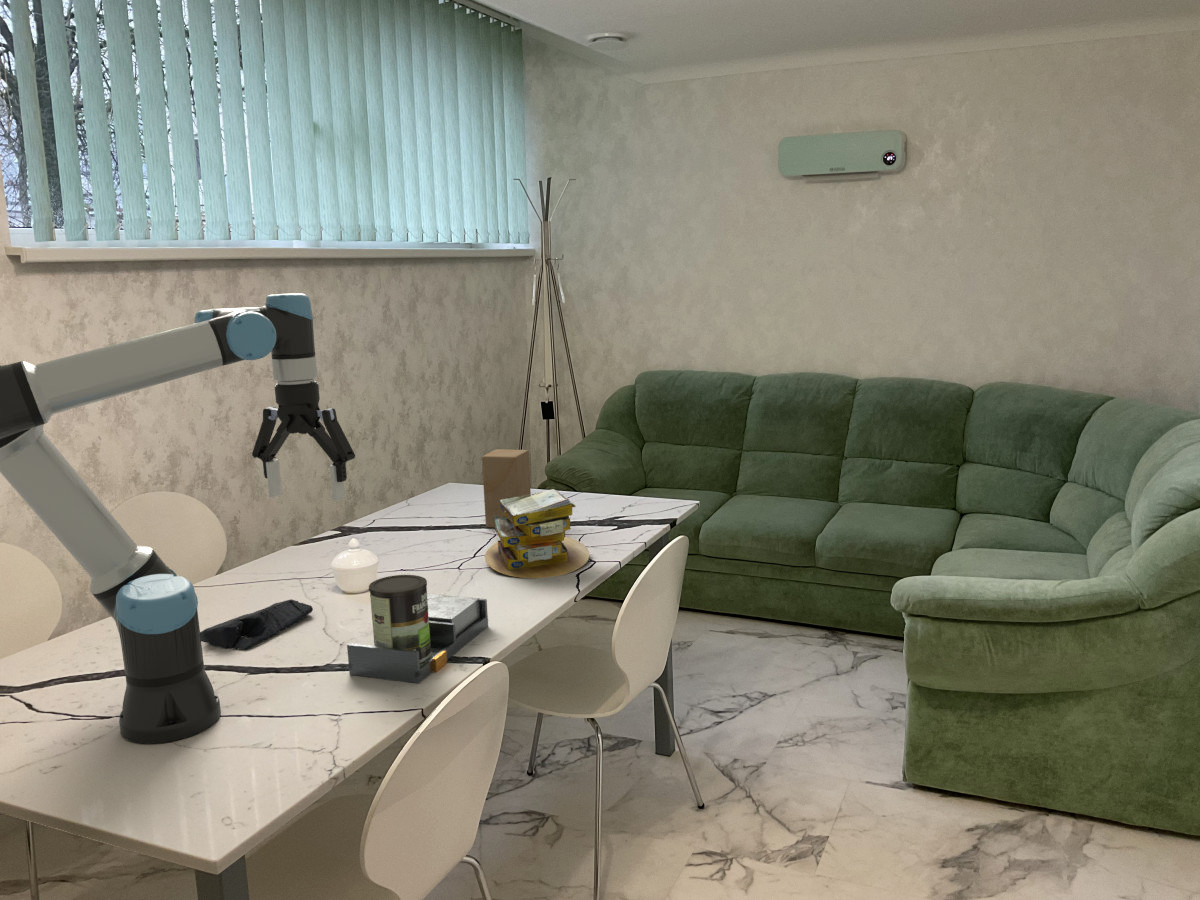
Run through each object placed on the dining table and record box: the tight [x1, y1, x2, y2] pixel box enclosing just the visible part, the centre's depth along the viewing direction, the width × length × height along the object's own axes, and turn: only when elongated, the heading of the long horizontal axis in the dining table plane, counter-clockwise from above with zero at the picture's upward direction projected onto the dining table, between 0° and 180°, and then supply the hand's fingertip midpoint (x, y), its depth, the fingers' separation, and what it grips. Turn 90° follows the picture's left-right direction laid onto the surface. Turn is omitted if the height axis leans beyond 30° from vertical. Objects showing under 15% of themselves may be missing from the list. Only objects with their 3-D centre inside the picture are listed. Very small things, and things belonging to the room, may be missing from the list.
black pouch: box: [200, 599, 314, 651], centre depth 204 cm, size 15×22×5 cm
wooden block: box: [481, 448, 532, 529], centre depth 274 cm, size 10×10×20 cm
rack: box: [346, 593, 489, 684], centre depth 189 cm, size 28×15×6 cm, turn 161°
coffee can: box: [368, 574, 432, 663], centre depth 182 cm, size 10×10×14 cm
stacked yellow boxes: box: [484, 489, 590, 579], centre depth 240 cm, size 25×25×17 cm
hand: (306, 497), depth 182 cm, fingers open, 13 cm apart
